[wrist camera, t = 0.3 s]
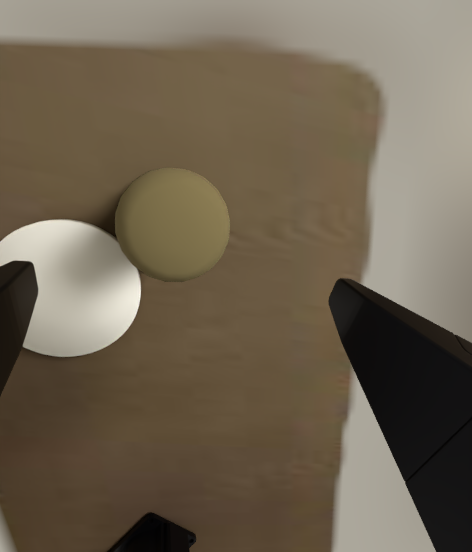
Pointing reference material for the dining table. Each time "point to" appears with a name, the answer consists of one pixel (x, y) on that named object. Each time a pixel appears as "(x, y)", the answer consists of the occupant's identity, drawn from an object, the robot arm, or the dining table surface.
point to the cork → (172, 224)
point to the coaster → (75, 286)
